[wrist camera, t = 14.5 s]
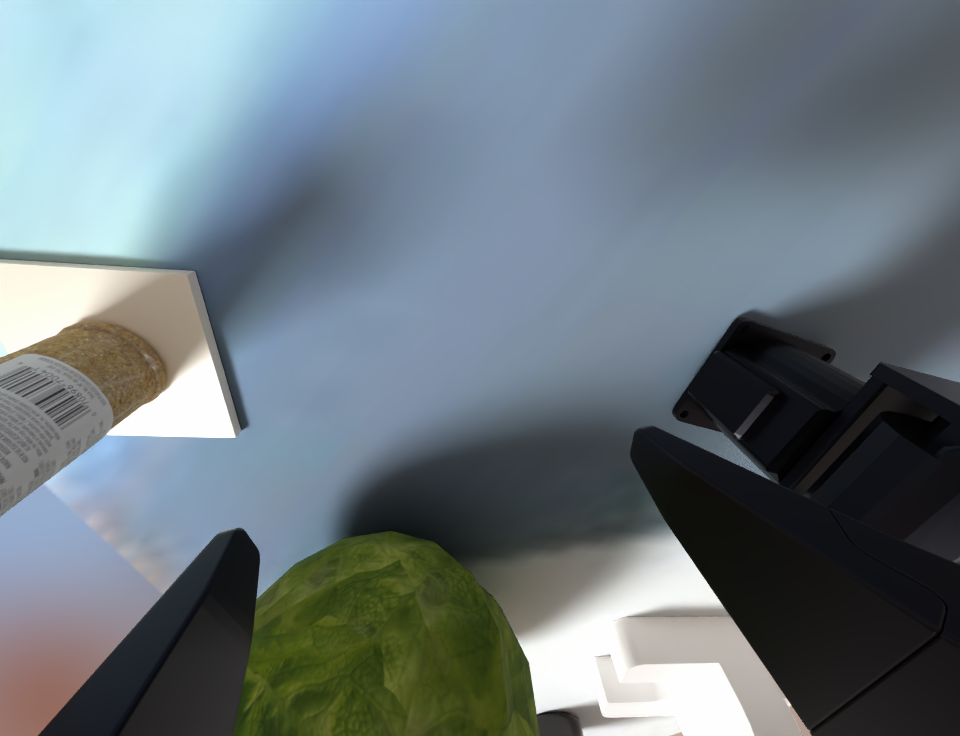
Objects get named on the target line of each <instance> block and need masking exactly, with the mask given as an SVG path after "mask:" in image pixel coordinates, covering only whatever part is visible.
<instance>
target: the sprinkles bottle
mask: <svg viewBox="0 0 960 736" xmlns="http://www.w3.org/2000/svg"><path fill="white" fill-rule="evenodd" d="M165 384H166V377H165V370H164V367H163V364H162V362H161V360H160V358H159V356H158V355H157V354H156V352H155V351H153V350H152V349H151V347H150V346H148V345H147V344H146V343H145V342H144V341H143V340H141V339H140V338H138V337H137V336H135V335H134V334H132V333H130V332H129V331H127V330H125V329H123V328H120V327H118V326H115V325H111V324H107V323H99V322H79V323H76V324H73V325H71V326H68V327H65V328H63V329H62V330H61V331H60V332H59V333H58V334H57V335H55V336H52V337H49V338H46V339H44V340H42V341H40V342H37V343H35V344H33V345H30V346H28V347H26V348H23V349H20V350H18V351H16V352H13V353H10V354H8V355H6V356H4V357H1V358H0V517H1V516H2V515H3V514H4V513H6V512H7V511H8V510H10V509H11V508H12V507H13V506H15V505H16V504H17V503H19V502H20V501H21V500H23V499H24V498H25V497H26V496H28V495H29V494H30V493H32V492H33V491H34V490H36V489H37V488H38V487H39V486H41V485H42V484H43V483H45V482H46V481H47V480H49V479H50V478H51V477H52V476H54V475H55V474H56V473H58V472H59V471H60V470H62V469H63V468H64V467H66V466H67V465H68V464H70V463H71V462H72V461H73V460H75V459H76V458H77V457H79V456H80V455H81V454H83V453H84V452H85V451H87V450H88V449H89V448H90V447H92V446H93V445H94V444H96V443H97V442H98V441H99V440H101V439H102V438H103V437H104V436H105V435H106V434H107V433H108V432H109V431H110V430H111V429H112V428H114V427H115V426H116V425H118V424H119V423H120V422H121V421H123V420H124V419H125V418H127V417H128V416H130V415H131V414H132V413H133V412H135V411H136V410H137V409H138V408H140V407H141V406H142V405H145V404H148V403H150V402H152V401H153V400H155V399H156V398H157V397H159V395H160V394H161V393H162V391H163V390H164V388H165Z"/></svg>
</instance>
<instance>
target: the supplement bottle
mask: <svg viewBox="0 0 960 736" xmlns="http://www.w3.org/2000/svg"><path fill="white" fill-rule="evenodd" d="M537 720H538V727H539V734H540V736H583V731H582V727H581V724H580V722H579V720H578V719H577V718H576V717H575V716H573V715H571V714H568V713H561V712H554V713H545V714H541V715H538V716H537Z"/></svg>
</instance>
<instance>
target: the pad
mask: <svg viewBox="0 0 960 736" xmlns="http://www.w3.org/2000/svg"><path fill="white" fill-rule="evenodd" d="M79 322H99V323H107V324H111V325H115V326H118V327H120V328H123V329H125V330H127V331H129V332H130V333H132V334H134V335H135V336H137V337H138V338H140V339H141V340H143V341H144V342H145V343H146V344H147V345H148V346H150V347H151V349H152V350H153V351H155V352H156V354H157V355H158V356H159V358H160V360H161V362H162V364H163V367H164V370H165V377H166V384H165V388H164V390H163V391H162V393H161V394H160V395H159V397H157V398H156V399H155V400H153V401H152V402H150V403H148V404H145V405H142V406H141V407H140V408H138V409H137V410H136V411H135V412H133V413H132V414H131V415H130V416H128V417H127V418H125V419H124V420H123V421H121V422H120V423H119V424H118V425H116V426H115V427H114V428H112V429H111V430H110V431H109V432H108V433H107V434H106V435H130V436H173V437H217V438H236V437H237V436H238V435H239V433H240V432H241V428H240V425H239V421H238V418H237V414H236V411H235V407H234V404H233V400H232V397H231V393H230V390H229V387H228V383H227V380H226V376H225V373H224V369H223V366H222V362H221V359H220V355H219V352H218V348H217V345H216V341H215V338H214V335H213V331H212V328H211V324H210V321H209V317H208V314H207V310H206V307H205V303H204V300H203V296H202V293H201V289H200V286H199V283H198V279H197V276H196V272H195V271H187V270H171V269H154V268H138V267H122V266H105V265H89V264H72V263H56V262H40V261H23V260H7V259H0V340H1V342H2V344H3V345H4V347H5V349H6V350H7V352H8V354H10V353H13V352H16V351H18V350H20V349H23V348H26V347H28V346H30V345H33V344H35V343H37V342H40V341H42V340H44V339H46V338H49V337H52V336H55V335H57V334H58V333H59V332H60V331H61V330H62V329H63V328H65V327H68V326H71V325H73V324H76V323H79Z"/></svg>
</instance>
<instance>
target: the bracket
mask: <svg viewBox="0 0 960 736" xmlns="http://www.w3.org/2000/svg"><path fill="white" fill-rule="evenodd" d="M605 639H606V642H607V645H608V648H609V651H610V654H611V656H606V657H594V659H593V661H592V663H591V665H590V667H589V668H590V672H591V676H592V679H593V683H594V687H595V691H596V694H597V698H598V702H599V706H600V709H601V713H602V716H604V717H607V718H620V717H649V716H676V718H677V721H678V723H679V726H680V728H681V731H682V733H683V736H802V733H801V731H800V728H799V726H798V724H797V722H796V720H795V718H794V716H793V714H792V713H791V711H790V709H789V707H790V706H791V704H790V703H789V701H788V700H787V698H786V697H785V695H784V694H783V692H782V691H781V689H780V688H779V687H778V685H777V684H776V682H775V681H774V679H773V678H772V676H771V675H770V673H769V672H768V670H767V669H766V668H765V666H764V665H763V663H762V662H761V660H760V659H759V657H758V656H757V654H756V653H755V651H754V650H753V649H752V647H751V646H750V644H749V643H748V641H747V640H746V638H745V637H744V635H743V634H742V632H741V631H740V630H739V628H738V627H737V625H736V624H735V622H734V621H733V619H732V618H731V616H704V617H623V618H619V619H617V620H615V621H613V622H612V623H611V624H610V626H609V628H608V630H607V632H606V634H605Z"/></svg>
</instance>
